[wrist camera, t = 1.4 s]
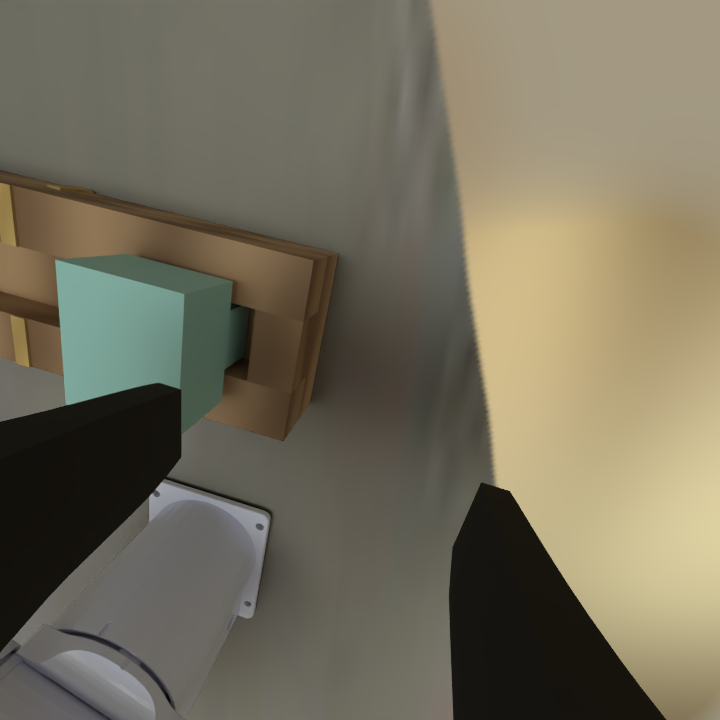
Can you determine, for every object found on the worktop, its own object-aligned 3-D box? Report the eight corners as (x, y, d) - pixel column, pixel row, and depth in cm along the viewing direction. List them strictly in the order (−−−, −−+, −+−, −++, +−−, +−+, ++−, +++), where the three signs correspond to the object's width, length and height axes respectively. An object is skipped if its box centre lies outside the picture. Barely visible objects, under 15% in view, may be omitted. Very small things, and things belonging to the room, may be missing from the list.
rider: (257, 274, 16) (184, 294, 11) (244, 381, 18) (177, 437, 13) (164, 250, 17) (55, 259, 12) (161, 358, 18) (65, 403, 14)
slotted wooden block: (338, 251, 18) (290, 263, 12) (309, 404, 21) (258, 477, 14) (-100, 143, 20) (-335, 105, 14) (-70, 296, 23) (-251, 320, 17)
